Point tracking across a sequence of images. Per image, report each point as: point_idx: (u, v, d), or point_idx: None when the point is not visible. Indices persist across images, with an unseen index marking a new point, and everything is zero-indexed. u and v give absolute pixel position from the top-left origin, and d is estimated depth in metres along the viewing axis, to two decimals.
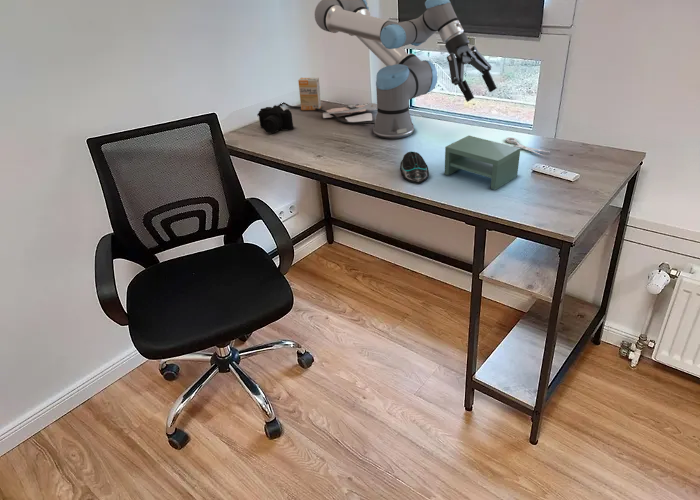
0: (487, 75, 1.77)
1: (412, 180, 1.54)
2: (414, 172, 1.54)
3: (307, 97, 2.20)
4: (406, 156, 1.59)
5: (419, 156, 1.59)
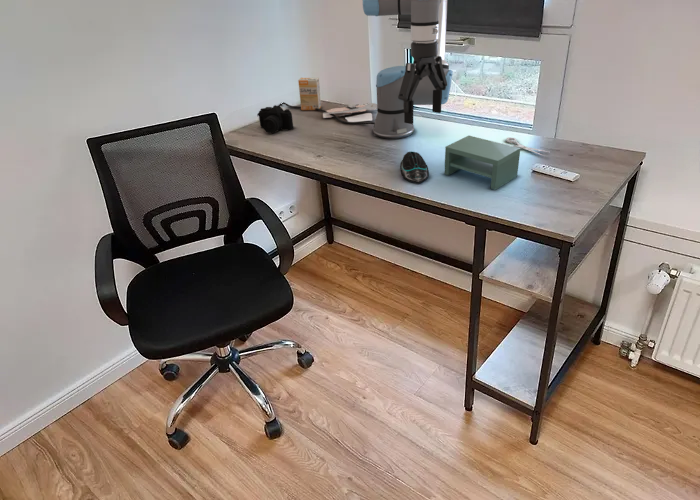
0: (438, 94, 1.53)
1: (412, 180, 1.54)
2: (414, 172, 1.54)
3: (307, 97, 2.20)
4: (406, 156, 1.59)
5: (419, 156, 1.59)
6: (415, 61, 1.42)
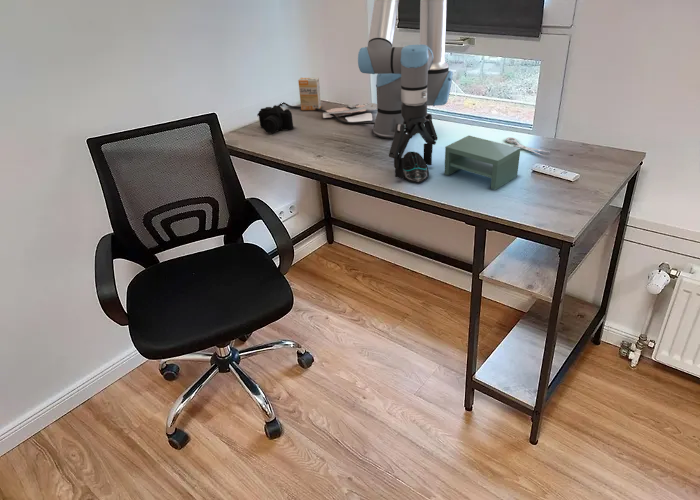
0: (428, 148, 1.60)
1: (412, 180, 1.54)
2: (414, 172, 1.54)
3: (307, 97, 2.20)
4: (406, 156, 1.59)
5: (419, 156, 1.59)
6: (405, 121, 1.50)
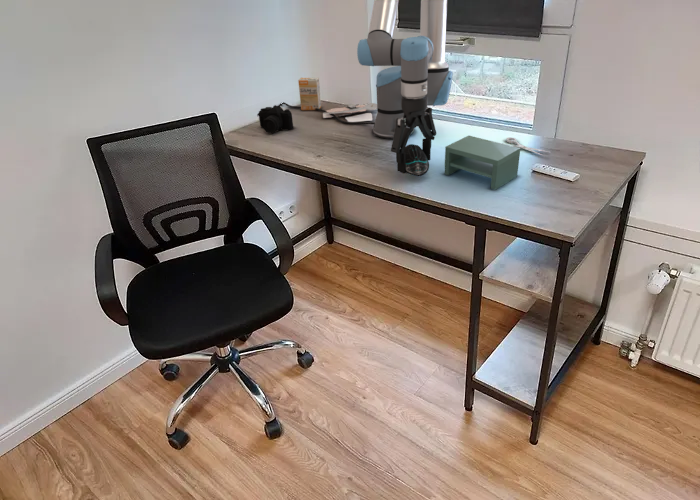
0: (427, 144, 1.60)
1: (412, 173, 1.54)
2: (414, 165, 1.54)
3: (307, 97, 2.20)
4: (406, 149, 1.59)
5: (419, 149, 1.58)
6: (405, 115, 1.49)
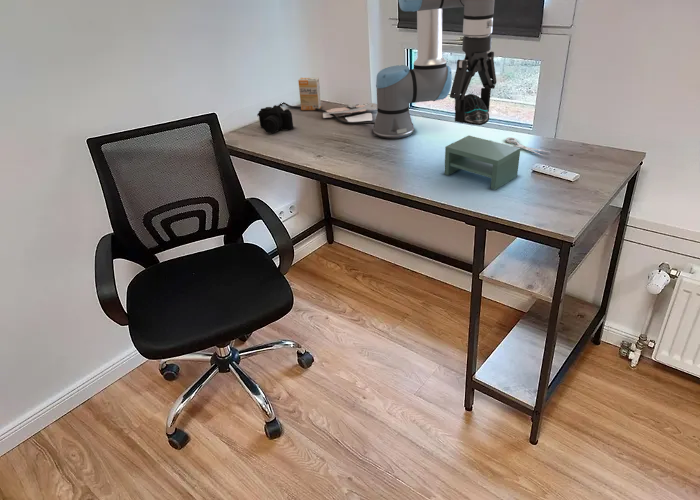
0: (487, 93, 1.47)
1: (472, 122, 1.41)
2: (475, 114, 1.41)
3: (307, 97, 2.20)
4: (464, 98, 1.46)
5: (479, 98, 1.45)
6: (467, 56, 1.36)
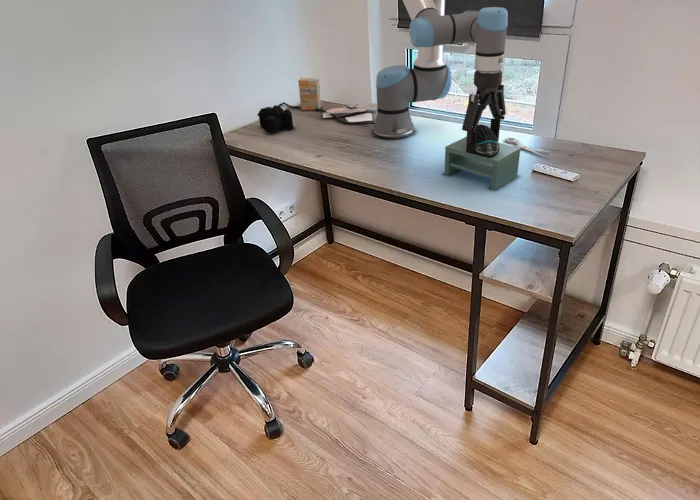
0: (496, 124, 1.51)
1: (484, 154, 1.45)
2: (486, 145, 1.45)
3: (307, 97, 2.20)
4: None
5: (489, 129, 1.50)
6: (478, 91, 1.40)
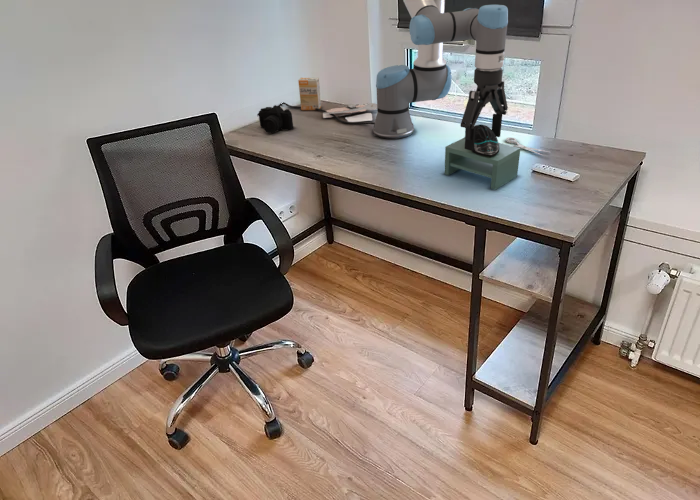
0: (498, 119, 1.51)
1: (484, 153, 1.45)
2: (486, 145, 1.45)
3: (307, 97, 2.20)
4: (475, 129, 1.50)
5: (489, 129, 1.50)
6: (479, 88, 1.40)
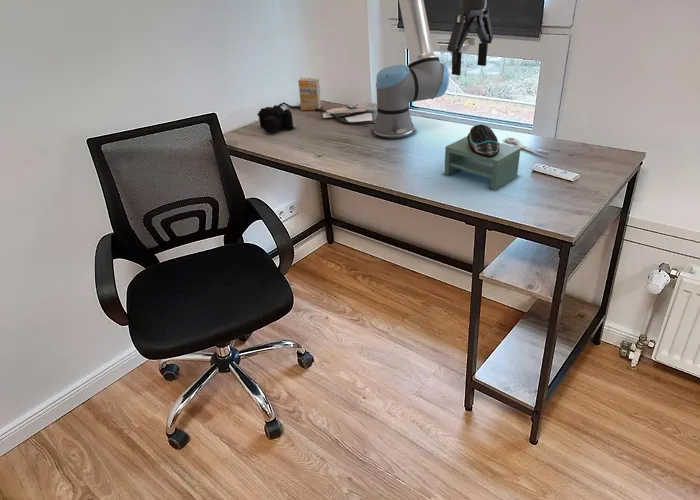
0: (484, 47, 1.59)
1: (484, 153, 1.45)
2: (486, 145, 1.45)
3: (307, 97, 2.20)
4: (475, 129, 1.50)
5: (489, 129, 1.50)
6: (464, 13, 1.48)
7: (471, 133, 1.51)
